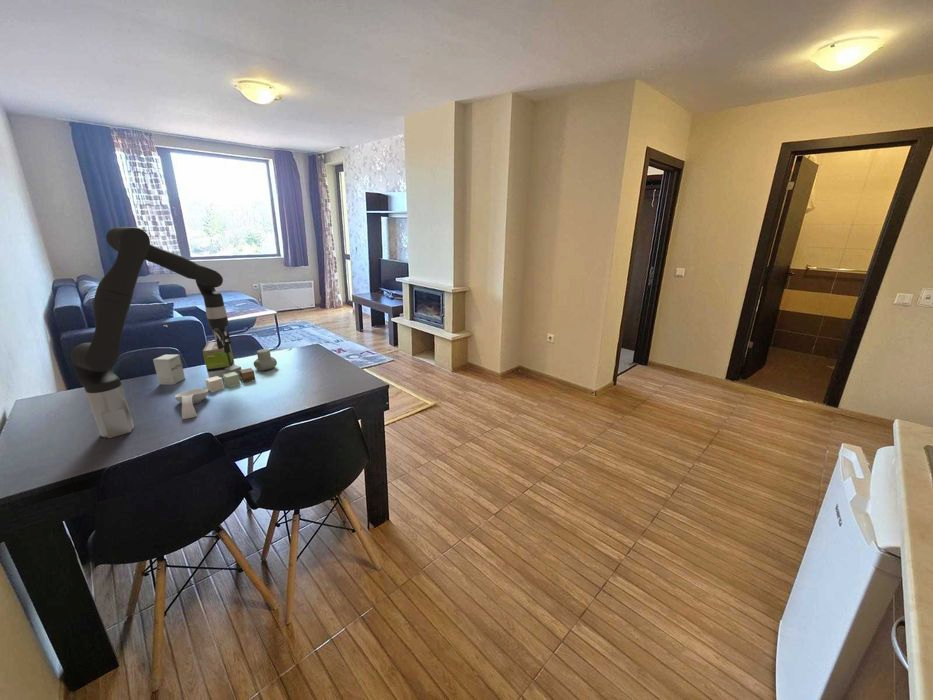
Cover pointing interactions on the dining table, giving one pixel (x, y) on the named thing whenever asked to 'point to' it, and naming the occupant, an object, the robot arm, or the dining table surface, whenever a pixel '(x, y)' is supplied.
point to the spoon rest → (190, 401)
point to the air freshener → (264, 360)
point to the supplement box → (169, 369)
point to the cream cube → (214, 383)
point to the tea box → (217, 359)
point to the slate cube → (233, 369)
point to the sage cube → (231, 379)
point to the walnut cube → (247, 375)
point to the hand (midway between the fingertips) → (224, 350)
